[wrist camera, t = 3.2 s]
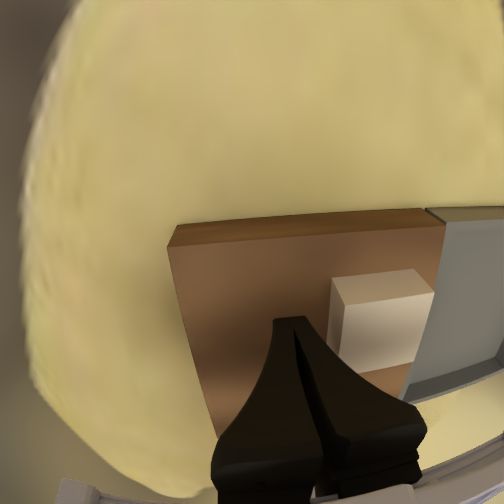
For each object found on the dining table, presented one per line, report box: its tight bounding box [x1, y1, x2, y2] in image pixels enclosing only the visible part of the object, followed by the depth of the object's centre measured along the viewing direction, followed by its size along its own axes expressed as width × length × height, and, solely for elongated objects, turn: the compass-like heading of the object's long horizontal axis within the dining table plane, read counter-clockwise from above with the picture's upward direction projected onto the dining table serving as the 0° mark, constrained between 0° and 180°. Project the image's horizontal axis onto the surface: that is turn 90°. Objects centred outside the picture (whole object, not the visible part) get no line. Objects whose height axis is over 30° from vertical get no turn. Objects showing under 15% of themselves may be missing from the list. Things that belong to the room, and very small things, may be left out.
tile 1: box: [326, 269, 435, 373], centre depth 13 cm, size 4×4×2 cm
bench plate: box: [167, 208, 446, 438], centre depth 16 cm, size 14×12×2 cm
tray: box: [398, 206, 504, 405], centre depth 16 cm, size 14×12×2 cm
